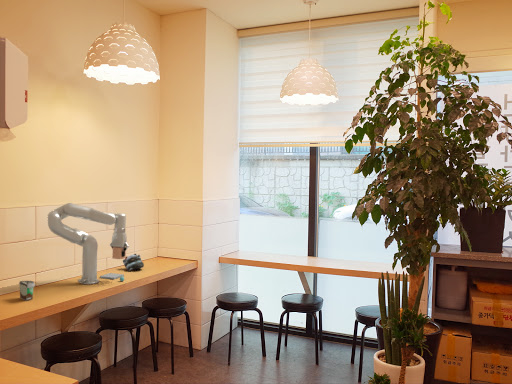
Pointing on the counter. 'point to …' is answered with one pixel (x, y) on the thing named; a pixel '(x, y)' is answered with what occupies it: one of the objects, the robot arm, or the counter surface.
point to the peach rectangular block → (118, 253)
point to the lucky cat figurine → (133, 262)
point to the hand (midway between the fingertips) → (119, 255)
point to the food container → (26, 290)
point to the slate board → (112, 276)
